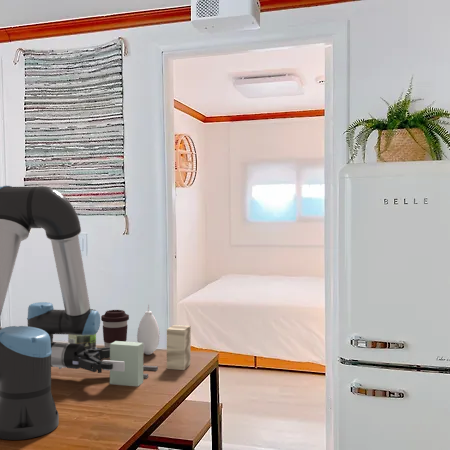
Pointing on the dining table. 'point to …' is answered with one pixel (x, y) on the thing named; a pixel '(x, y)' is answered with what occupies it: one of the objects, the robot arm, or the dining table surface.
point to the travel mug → (114, 326)
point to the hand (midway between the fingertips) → (133, 360)
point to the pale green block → (127, 363)
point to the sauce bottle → (148, 333)
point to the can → (83, 340)
